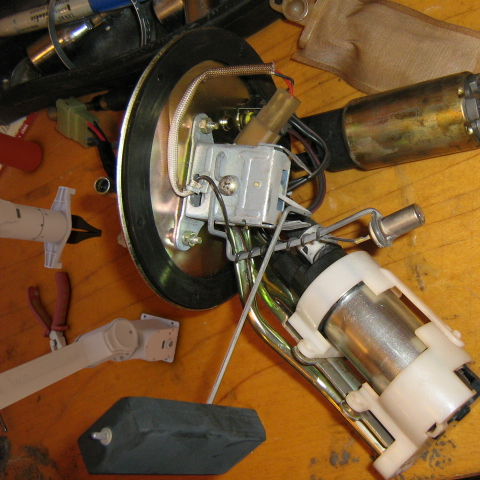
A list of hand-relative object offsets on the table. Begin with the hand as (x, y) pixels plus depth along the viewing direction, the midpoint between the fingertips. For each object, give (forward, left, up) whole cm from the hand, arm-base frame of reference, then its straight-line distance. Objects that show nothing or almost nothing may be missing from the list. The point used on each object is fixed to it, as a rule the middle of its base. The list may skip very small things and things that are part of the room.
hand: (97, 232), depth 90 cm
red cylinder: (+35, -15, -8) cm, 39 cm away
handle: (0, +2, -7) cm, 7 cm away
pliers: (+18, +21, -9) cm, 29 cm away
